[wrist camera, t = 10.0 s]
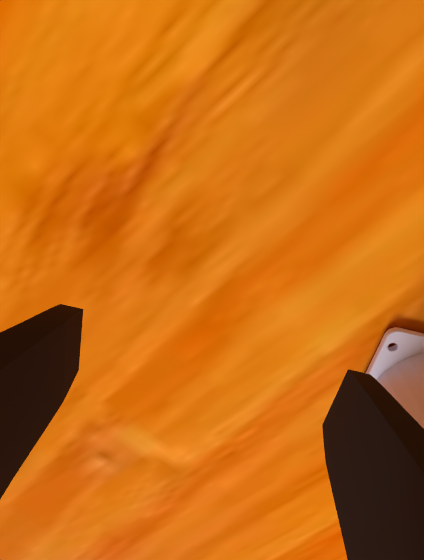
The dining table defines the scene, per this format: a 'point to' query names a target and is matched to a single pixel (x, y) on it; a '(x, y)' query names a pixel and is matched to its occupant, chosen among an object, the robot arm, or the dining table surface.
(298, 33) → the dining table surface
